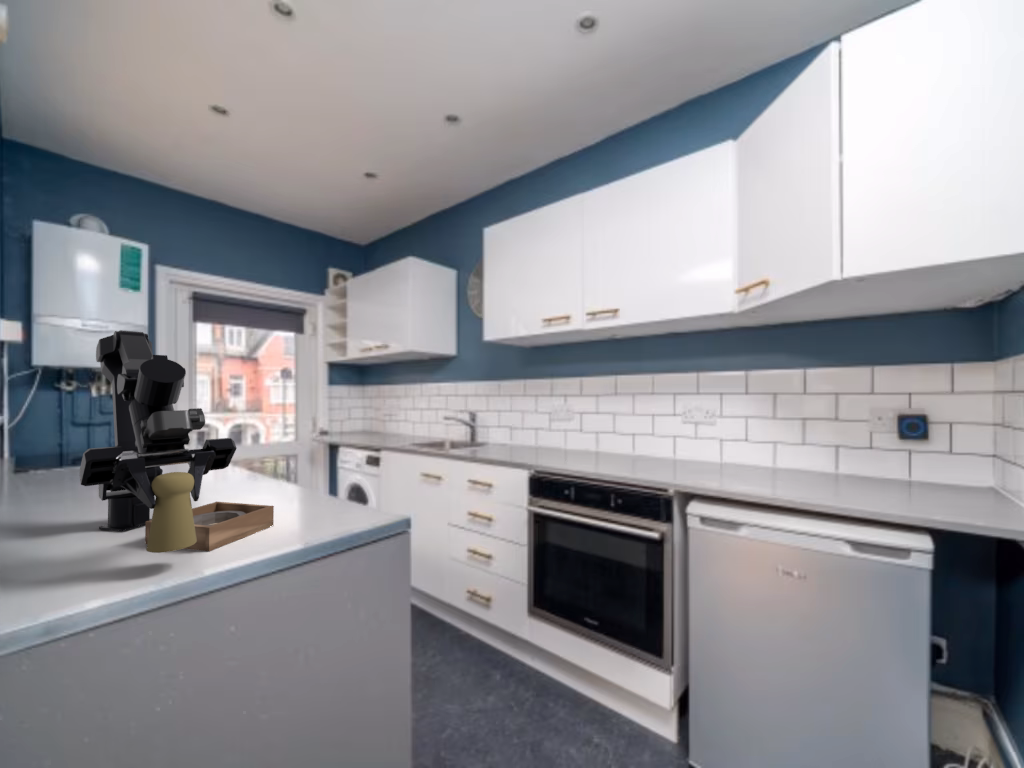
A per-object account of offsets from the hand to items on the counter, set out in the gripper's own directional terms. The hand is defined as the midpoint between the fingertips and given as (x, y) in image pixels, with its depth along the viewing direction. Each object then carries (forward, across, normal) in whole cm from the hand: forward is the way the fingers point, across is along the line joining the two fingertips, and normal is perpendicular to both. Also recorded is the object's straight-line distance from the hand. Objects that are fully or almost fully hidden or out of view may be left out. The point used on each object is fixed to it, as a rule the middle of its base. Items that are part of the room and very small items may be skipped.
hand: (175, 503), depth 64 cm
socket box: (-3, +10, +17) cm, 20 cm away
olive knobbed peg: (+4, 0, +6) cm, 7 cm away
